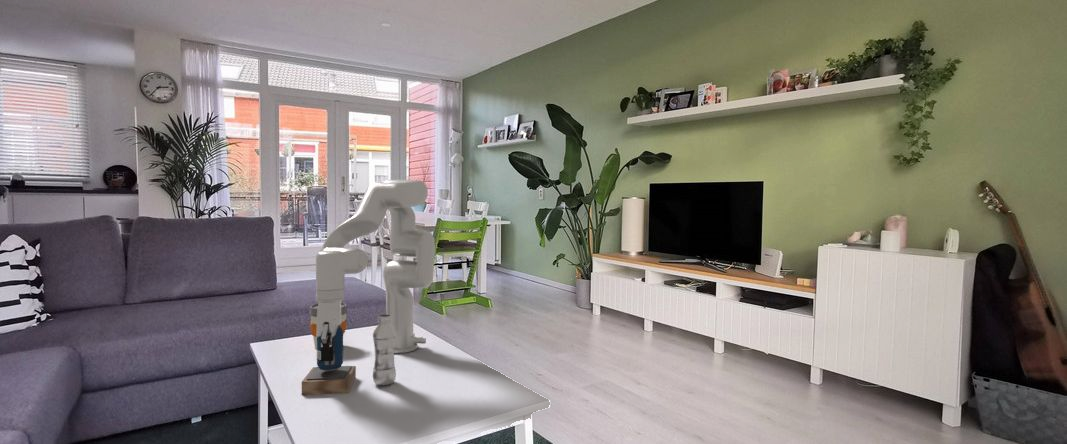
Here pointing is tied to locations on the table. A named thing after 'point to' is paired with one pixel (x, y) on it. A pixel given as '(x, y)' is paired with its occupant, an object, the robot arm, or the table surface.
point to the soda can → (337, 352)
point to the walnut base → (329, 381)
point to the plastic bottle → (384, 351)
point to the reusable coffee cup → (314, 320)
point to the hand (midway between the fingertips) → (330, 356)
